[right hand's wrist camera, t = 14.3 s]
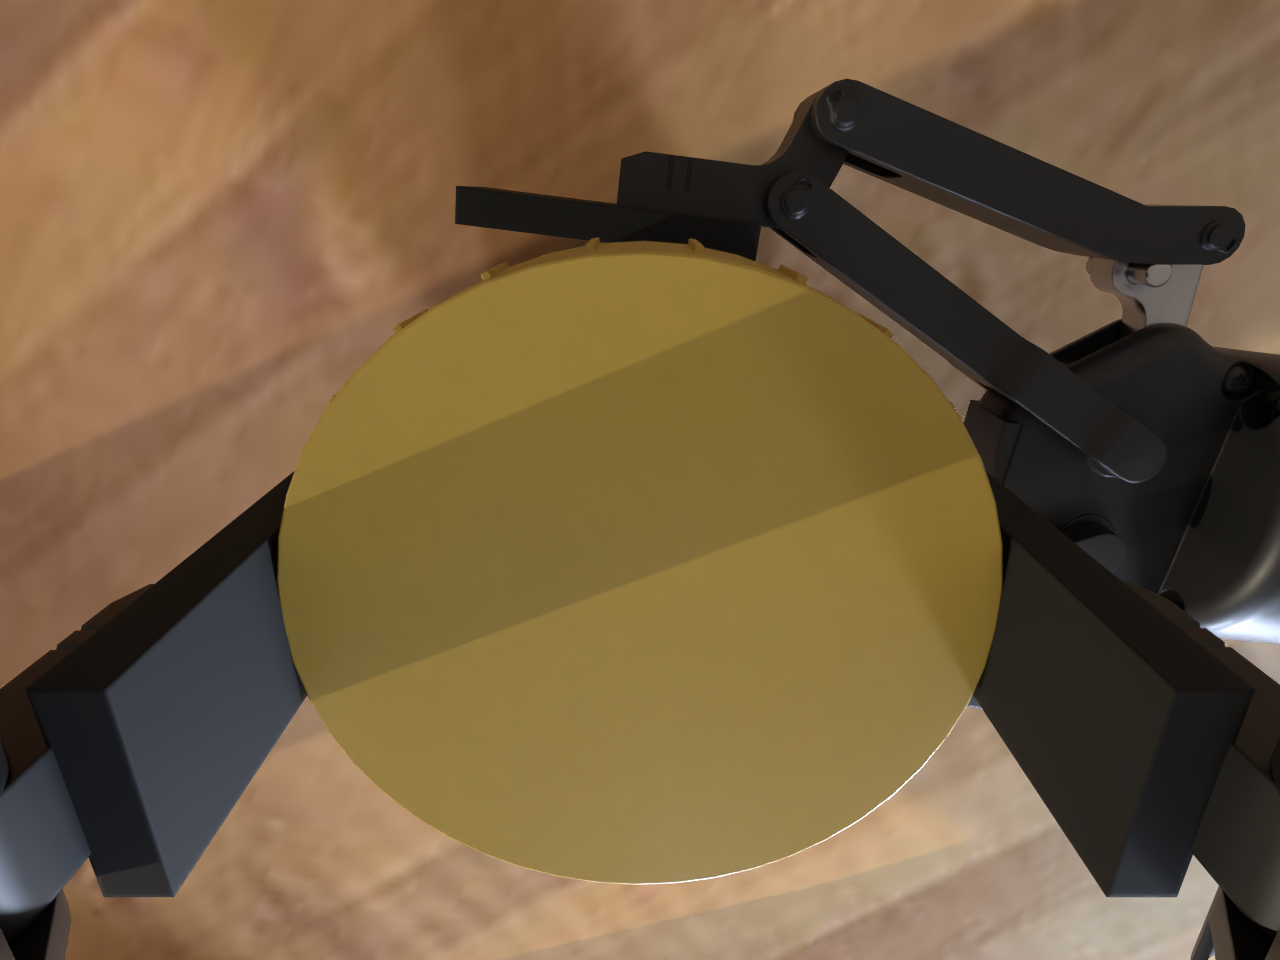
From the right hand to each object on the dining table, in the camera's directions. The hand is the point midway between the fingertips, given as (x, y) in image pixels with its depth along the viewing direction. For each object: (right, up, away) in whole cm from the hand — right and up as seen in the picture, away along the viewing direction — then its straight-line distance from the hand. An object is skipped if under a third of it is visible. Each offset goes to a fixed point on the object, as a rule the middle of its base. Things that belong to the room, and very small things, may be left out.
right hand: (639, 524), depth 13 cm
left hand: (-4, +3, +5) cm, 7 cm away
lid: (0, -1, -3) cm, 3 cm away
